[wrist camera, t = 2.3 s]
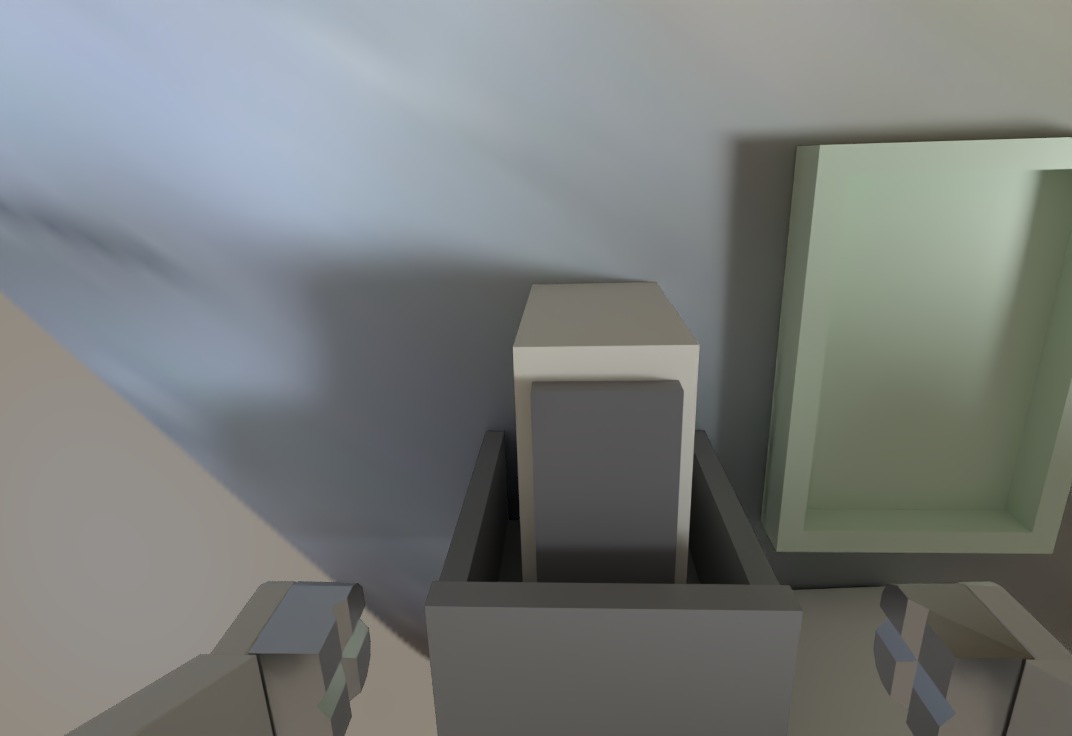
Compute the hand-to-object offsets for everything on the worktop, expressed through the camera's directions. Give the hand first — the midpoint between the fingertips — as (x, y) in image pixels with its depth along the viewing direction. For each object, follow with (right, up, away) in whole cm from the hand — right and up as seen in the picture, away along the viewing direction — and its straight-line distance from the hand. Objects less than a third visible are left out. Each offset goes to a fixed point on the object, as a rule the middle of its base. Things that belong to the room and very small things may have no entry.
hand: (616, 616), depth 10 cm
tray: (+14, +5, +16) cm, 22 cm away
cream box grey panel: (+1, +3, +17) cm, 17 cm away
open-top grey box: (+1, -1, +18) cm, 18 cm away
